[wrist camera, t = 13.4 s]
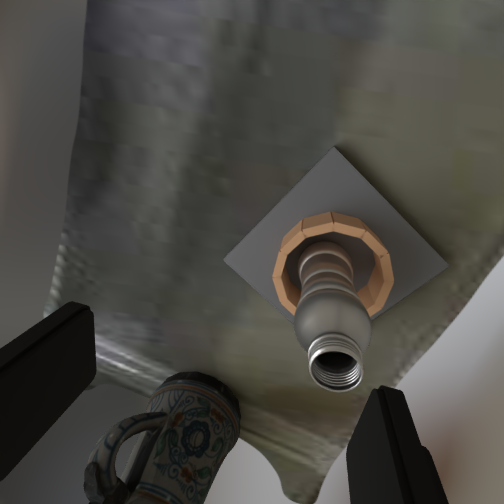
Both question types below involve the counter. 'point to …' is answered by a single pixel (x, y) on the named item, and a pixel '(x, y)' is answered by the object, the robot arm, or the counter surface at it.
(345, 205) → the duct base
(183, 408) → the beer stein
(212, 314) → the counter surface
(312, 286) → the plastic bottle
